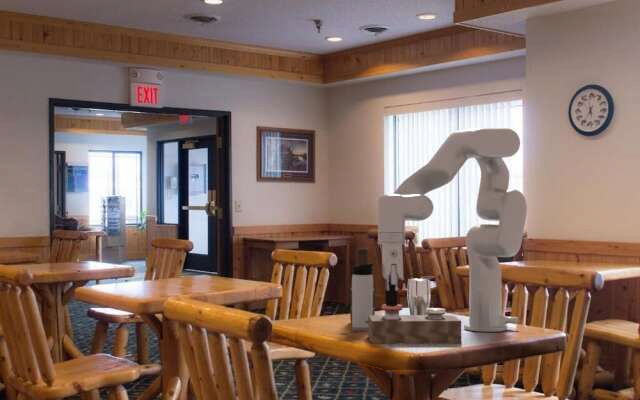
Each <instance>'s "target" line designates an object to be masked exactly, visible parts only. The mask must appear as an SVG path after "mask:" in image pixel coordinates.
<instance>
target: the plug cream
mask: <svg viewBox="0 0 640 400" xmlns="http://www.w3.org/2000/svg"><path fill="white" fill-rule="evenodd" d="M425 314H428V319H442V315H446V308H440V307H429V308H427V309H425Z"/></svg>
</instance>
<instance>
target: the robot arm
mask: <svg viewBox="0 0 640 400" xmlns="http://www.w3.org/2000/svg"><path fill="white" fill-rule="evenodd" d="M520 147H521V139H520V137H519V135H518V133H517V132H516V131H515V130H513V129H511V128H489V127H487V128H481V127H477V128H469V129H461V130H457V131H456V130H455V131H454V132H452V133H450V135H449V136H448V137H447V138H446V139H445V141H443V143H442V145H440V147H439V148H438V149H437V151H436V152H435V154H434V155H433V156H432V157H431V159H430V160H429V161H428V162H427V163H426V164H425V165H423V166H422V167H420V168H419V169H418V170H417V171H415V172H414V173H412V174H411V175H409V176H408V177H407V178H406V179H404V181H403V182H402V183H400V184H399V186H398V187H397V188H396V190H395V191H394V192H393V194H386V193H385V194H382V195H379V197H378V200H377V237H378V238H377V245H381V271H382V278H383V279H384V280H385V295H384V297H385V301H384V302H385V303H384V304H386V305H387V306H397V304H398V301H399V299H398V295H399V294H398V280H400V281H403V280H404V259H403V258H404V257H403V255H404V254H403V245H406V221H411V222H412V221H413V222H417V221H418V222H420V221H425V220H426V219H429V218H430V217H431V216H432V214H433V212H434V204H433V201H432V199H431V198H429V197H428V196H427V195H426V194H428V193H429V192H431V191H434V190H436V189H439V188H441V187H444V186H446V185H447V184H449V183H450V182H452V180H453V179H454V178H455V176H456V175H457V174H458V172H459V171H460V170H461V169H462V167H463V166H464V165H465V163H466V162H467V160H469V159H474V160H475V161H476V162H477V164H478V166H479V169H480V183H479V188H478V193H477V200H476V207H475V208H476V209H475V210H476V211H475V212H476V213H477V216H478V218H479V219H482V220H484V221H489V222H490V221H492V222H498V224H493V223H491V224H490V223H489V224H488V223H487V224H486V223H484V224H478V225H477V224H476V225H474V226H472V227H470V229H469V230H468V231H467V233H466V236H465V247H466V252H467V257H468V258H467V259H468V268H469V269H468V271H469V272H468V273H469V277H468V278H469V279H468V281H469V283H468V287H469V289H468V290H469V291H468V293H469V294H468V295H469V296H468V297H469V299H468V301H469V303H468V306H469V307H468V308H469V311H468V312H469V313H468V315H469V317H468V321H469V322H468V323H465V324H464V325H463V326H464V329H465V330H467V331H472V332H480V333H481V332H483V333H484V332H485V333H497V332H505V331H507V330H508V327H507V325H508V324H518V322H519V317H518V316H506V315H505V314H502V313H503V312H502V309H503V308H502V305H503V304H502V302H503V301H502V300H503V299H502V267H501V264H500V261H499V260H498V258H511V257H514V256H515V255H517V254H518V252H519V251H520V249H521V246H522V242H523V237H524V231H525V225H526V219H527V218H526V217H527V210H528V207H527V206H528V203H527V200H526V197H525V195H524V194H523V193H522V192H521V191H519V190H518V189H514V188H509V186H510V185H509V184H510V172H509V171H510V170H509V169H508V166H507V164H506V162H505V161H504V159H503V158H510V157H513V156H515V155H516V154H517V153H518V151H519V149H520Z"/></svg>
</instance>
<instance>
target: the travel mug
mask: <svg viewBox="0 0 640 400" xmlns="http://www.w3.org/2000/svg"><path fill="white" fill-rule="evenodd" d="M374 266H375V263H374V262H373V263H368V264H366V265H358V266H357V265H354V266H352V267H351V270H352V274H351V276H352V277H351V281H352V323H351V324H352V325H351V329H352V331H354V332H368V315H373V281H374V273H373V267H374Z"/></svg>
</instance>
